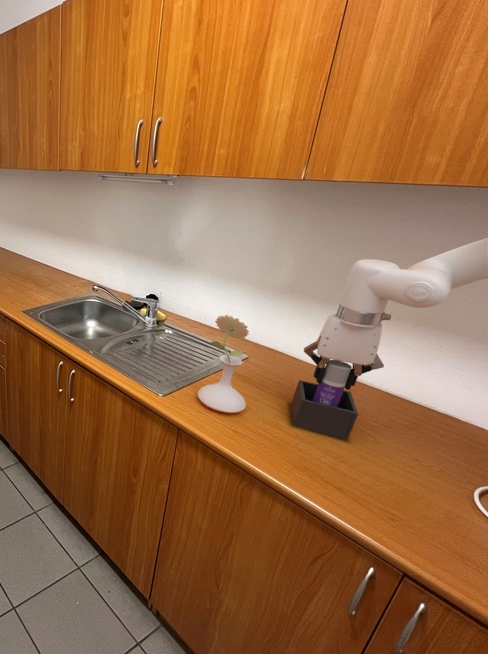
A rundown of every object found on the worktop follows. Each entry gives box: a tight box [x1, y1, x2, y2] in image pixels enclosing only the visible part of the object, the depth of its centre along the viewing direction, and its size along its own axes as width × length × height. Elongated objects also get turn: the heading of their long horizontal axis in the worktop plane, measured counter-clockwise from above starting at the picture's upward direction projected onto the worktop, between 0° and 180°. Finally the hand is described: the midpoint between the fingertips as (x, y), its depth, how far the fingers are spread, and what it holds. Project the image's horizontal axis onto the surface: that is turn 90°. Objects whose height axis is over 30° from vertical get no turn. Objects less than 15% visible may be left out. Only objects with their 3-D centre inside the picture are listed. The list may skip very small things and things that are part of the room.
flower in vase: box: [197, 314, 250, 414], centre depth 103 cm, size 13×11×25 cm
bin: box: [290, 379, 359, 441], centre depth 98 cm, size 10×10×8 cm
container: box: [312, 359, 352, 407], centre depth 96 cm, size 5×5×15 cm
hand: (332, 382), depth 95 cm, fingers closed on container, 4 cm apart
